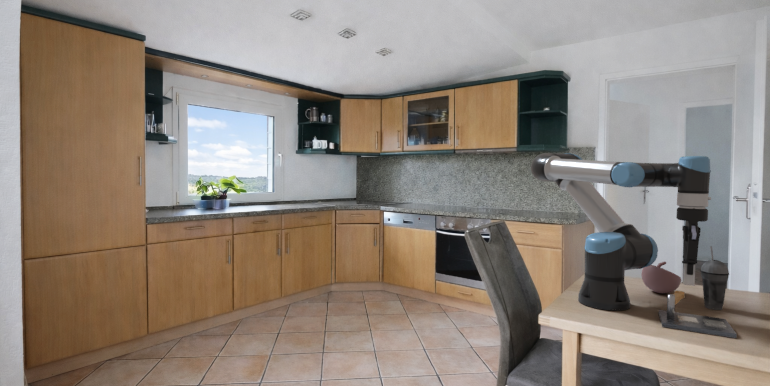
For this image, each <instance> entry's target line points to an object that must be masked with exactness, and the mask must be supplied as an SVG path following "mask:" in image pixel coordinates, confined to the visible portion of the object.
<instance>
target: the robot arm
mask: <svg viewBox="0 0 770 386" xmlns="http://www.w3.org/2000/svg"><path fill="white" fill-rule="evenodd" d="M530 171H531V174H532V175H533V177H535V179H537V180H539V181H541V182H547V183H549V182H551V183H552V182H554V183H555V184H556V185H557V186H558V188H560V190H561V191H566V192H567V193H568V194H569V195H570V196H571V198H572V199H573V200H574V201H575V203H576V204H577V205H578V207H579V208H580V209H581V210H582V212H583V213H584V214H585V215H586V217H587V218H588V219H589V220H590V221H591V223H592V224H593V226H594V227H595V228H596V229H597V231H598V232H593V233H591V234H588V235H587V236H586V237H585V242H584V279H583V281H582V284H581V287H580V290H579V291H578V297H577V298H578V302H579V303H580V304H582V305H584V306H587V307H589V308H594V309H599V310H604V311H605V310H606V311H626V310H629V309H630V308H631V298H630V296H629V294H628V290H627V287H626V284H625V271H629V270H631V271H632V270H639V269H640V270H641V269H643V268H644V267H648V266H650V265H653V264H654V263H655V262H656V260H657V258H658V252H659V248H658V244H657V243H656V241H655V240H654V238H653V237H652V236H650V235H648V234H646V233H640V231H638V229H637V228H636V227H635V226H634V225H633V224H631V223H626V222H625V221H624V220H623V219H622V218H621V216H620V215H619V214H618V213H617V212H616V211H615V210H614V208H613V207H612V206H611V205H610V204H609V203H608V202H607V200H606V199H605V198H604V197H603V196H602V195H601V193H600V192H599V191H598V190H597V188H595V186H594V185H593V184H592V183H594V184H595V183H596V184H605V185H613V186H614V185H615V186H619V187H623V188H635V187H639V188H641V187H643V188H647V187H648V188H649V187H650V188H654V187H657V188H658V187H659V188H660V187H661V188H677V193H676V198H677V199H676V205H677V206H678V207H677V208H676V216H675V217H676V219H677V220H679V221H683V222H685V223H684V224H685V225H682V227H681V228H682V231H683V232H682V240H683V241H682V243H683V247H682V248H683V249H682V261H681V264H683V269H682V270H683V273H682V284H683V285H685V286H691V287H692V286H693V287H694V286H695V285H696V283H695V280H696V265H697V264H698V254H699V243H700V237H701V229H702V228H701V227H700V226H699V222H701V223H702V222H707V221H708V220H709V210H708V207H709V201H712V197H711V196H710V195H709V194H710V177H711V172H712V171H711V159H710V158H709V157H708V156H705V155H690V156H689V155H688V156H687V155H686V156H680V157H679V159H678V161H677V162H675V163H670V162H667V163H666V162H665V163H664V162H663V163H661V162H659V163H657V162H655V163H654V162H652V163H651V162H630V161H627V162H626V161H608V160H607V161H606V160H591V159H590V160H589V159H583V158H582V157H581V156H579V155H578V154H574V153H570V152H565V153H560V152H559V153H558V152H556V153H555V152H544V153H540V154H538V155H537V156H535V157H534V158H533V160H532V161H531V164H530Z"/></svg>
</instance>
